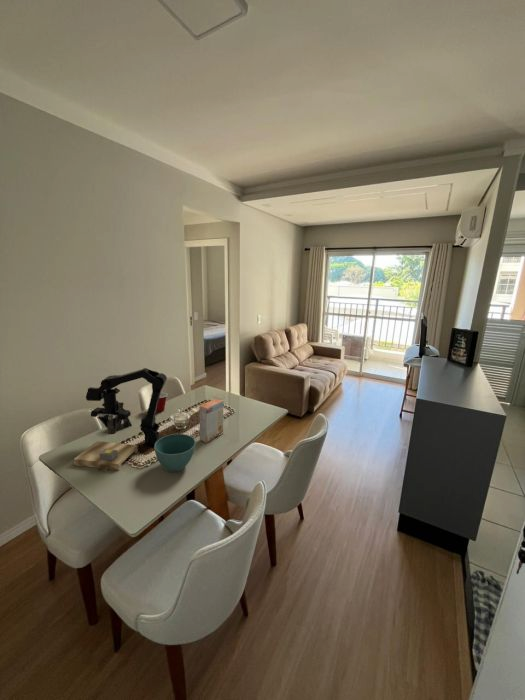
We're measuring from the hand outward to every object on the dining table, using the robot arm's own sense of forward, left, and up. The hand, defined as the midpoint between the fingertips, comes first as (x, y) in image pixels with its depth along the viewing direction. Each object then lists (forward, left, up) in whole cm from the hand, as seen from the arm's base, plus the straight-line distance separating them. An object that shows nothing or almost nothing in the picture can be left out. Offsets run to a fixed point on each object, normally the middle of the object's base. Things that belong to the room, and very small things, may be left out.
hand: (111, 428), depth 149 cm
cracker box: (-49, -17, -9) cm, 53 cm away
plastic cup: (-6, -44, -9) cm, 45 cm away
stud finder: (-9, +16, -5) cm, 20 cm away
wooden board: (-5, +12, -9) cm, 16 cm away
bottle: (0, 0, -2) cm, 2 cm away
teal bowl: (-40, +13, -9) cm, 43 cm away
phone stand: (+6, -18, -9) cm, 21 cm away
